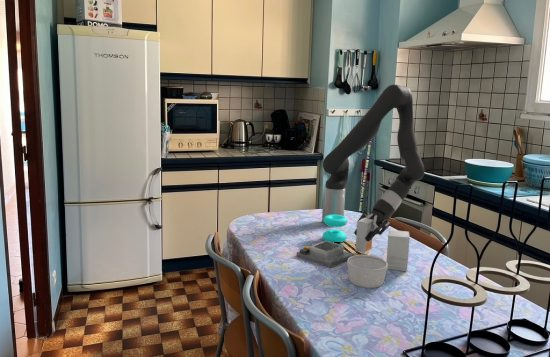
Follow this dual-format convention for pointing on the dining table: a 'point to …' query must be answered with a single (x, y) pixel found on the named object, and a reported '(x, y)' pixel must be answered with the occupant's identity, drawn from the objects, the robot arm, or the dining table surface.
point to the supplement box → (398, 250)
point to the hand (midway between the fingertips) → (361, 237)
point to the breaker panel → (325, 253)
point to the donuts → (335, 222)
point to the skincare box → (363, 235)
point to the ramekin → (366, 270)
